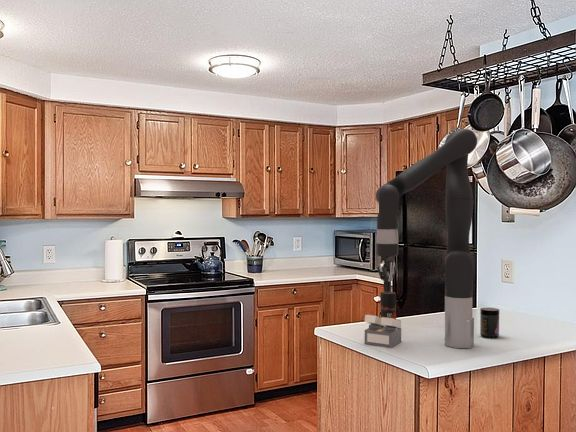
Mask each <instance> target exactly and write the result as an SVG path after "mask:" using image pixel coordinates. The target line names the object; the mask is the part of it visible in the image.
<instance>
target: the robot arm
mask: <svg viewBox="0 0 576 432" xmlns="http://www.w3.org/2000/svg"><path fill="white" fill-rule="evenodd" d="M477 144H478V138H477V135H476V133H475V132H474V131H473V130H470V129H468V128H461V129H456V130H454V131H452V132H451V133H449V134H448V135H447V136H446V139H445V141H444V143H443V144H442V145H441V146H440V147H439V148H437V149H436V150H434V151H432V153H430V154H428V155H426V156H425V157H423V158H422V159H419V160H418V161H417V162H414V164H412V165H410V166H409V167H407V168H406V169H404V170H403V171H401V172H400V173H399V174H398V175H397V176H395V177H394V178H392V179H391V180H389V181H387V182H386V183H383V185H381V186H380V187H378V189H377V190H376V191H375V199H376V201H377V203H378V214H377V217H376V234H375V235H376V236H375V237H376V241H375V242H376V247H375V249H376V250H375V251H376V256H378V257H380V262H379V266H378V265H377V272H378V275H379V278H380V280H381V281H382V282H383V292H392V281H393V280H394V278H395V274H396V270H397V266H398V264H397V263H395V258H394V257H398V255H399V233H398V212H399V204H400V203H399V202H400V197H401V196H403V195H404V194H406V193H408V192H410V191H412V190H414V189H415V188H417V187H418V186H420V185H421V184H422V183H424V182H425V181H426V180H428V179H429V178H430V177H432V176H433V175H434V174H436V173H437V172H439V171H440V170H441V169H442V168H444V167H446V177H445V207H444V208H445V210H444V211H445V223H446V233H447V240H446V241H447V244H446V252H445V259H444V267H445V269H444V270H445V271H444V279H445V280H444V345H445V346H446V347H449V348H454V349H455V348H456V349H472V348H473V346H474V345H475V318H474V317H473V293H474V291H473V290H474V260H473V258H472V257H471V249H470V248H471V247H470V231H471V226H472V221H473V213H474V200H473V199H474V195H473V193H474V192H473V187H472V184H471V181H470V178H469V173H468V162H469V155H470V154H472V153H473V151H474V150H475V149H476V148H477Z"/></svg>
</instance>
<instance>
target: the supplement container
mask: <svg viewBox="0 0 576 432" xmlns="http://www.w3.org/2000/svg"><path fill="white" fill-rule="evenodd" d="M479 311H480V312H479V314H480V321H479V324H480V327H479V329H480V330H479V332H480V333H479V335H480V336H481V338H484V339H490V340H495V339H498V338H499V337H500V308H497V307H480V308H479Z"/></svg>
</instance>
